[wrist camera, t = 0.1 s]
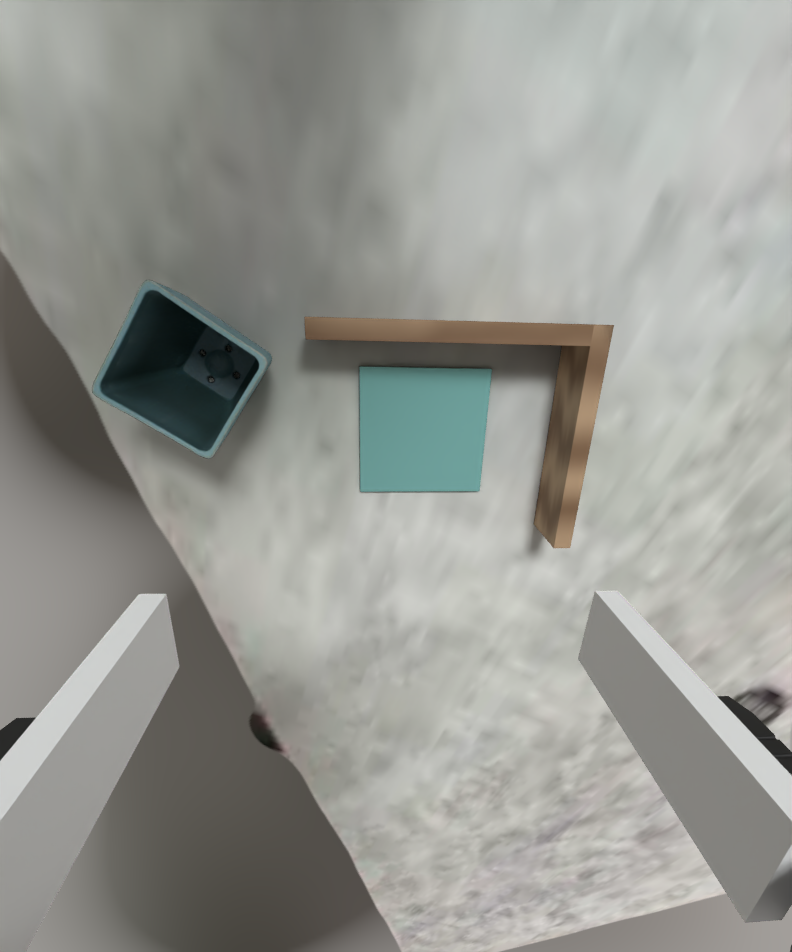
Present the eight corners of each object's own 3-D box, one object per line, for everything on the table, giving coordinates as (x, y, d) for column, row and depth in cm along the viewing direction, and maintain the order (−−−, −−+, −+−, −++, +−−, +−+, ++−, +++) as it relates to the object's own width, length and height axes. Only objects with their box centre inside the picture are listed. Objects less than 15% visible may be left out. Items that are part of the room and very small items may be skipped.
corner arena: (312, 317, 35) (304, 316, 31) (582, 324, 37) (613, 325, 32) (321, 526, 42) (315, 551, 38) (548, 523, 44) (570, 547, 39)
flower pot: (292, 351, 36) (270, 360, 28) (243, 431, 38) (209, 462, 30) (198, 286, 34) (144, 275, 26) (152, 376, 36) (87, 392, 28)
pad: (359, 366, 37) (359, 366, 37) (490, 368, 38) (492, 369, 38) (360, 490, 41) (360, 491, 41) (478, 489, 42) (479, 491, 42)
